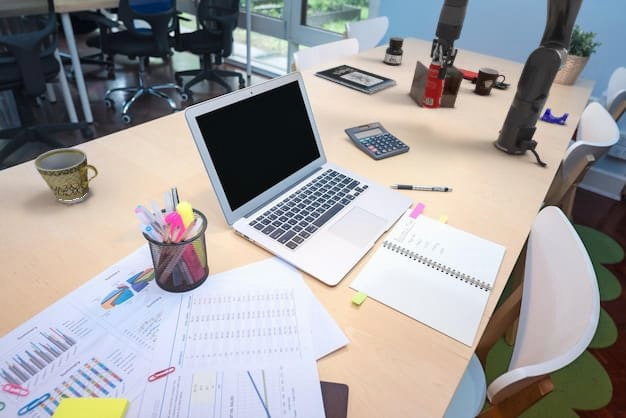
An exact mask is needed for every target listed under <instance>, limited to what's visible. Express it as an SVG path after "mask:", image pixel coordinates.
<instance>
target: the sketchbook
mask: <svg viewBox="0 0 626 418" xmlns="http://www.w3.org/2000/svg"><path fill="white" fill-rule="evenodd" d="M315 76H317V77H320V78H323V79H326V80H329V81H331V82H334V83H337V84H340V85H343V86H346V87H349V88H352V89H353V90H354V89H355V90H357V91H360V92H364V93H366V94H367V95H368V94H369V95H371V94H374V93H376V92H378V91H381V90H383V89H386V88H389V87H391V86H394V85H396V84H397V80H396V79H392V78H389V77H386V76H381V75H379V74H376V73H373V72H371V71H367V70H364V69H361V68H357V67H355V66H351V65H347V64H341V65H338V66H334V67H331V68H327V69H323V70H320V71H317V72H315Z"/></svg>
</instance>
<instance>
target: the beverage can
mask: <svg viewBox="0 0 626 418" xmlns="http://www.w3.org/2000/svg"><path fill="white" fill-rule="evenodd" d="M440 68H441V60H440V61H431V62H430V65H429V66H428V69H429V71H428V77H427V82H426V88H425V94H424V100H423V107H422V108H425V109H427V110H438V109H439V108H440V107H439V106H440V102H441V97H442V92H443V87H444V82H445V79H444V80H439V79H438V74H439V70H440ZM445 77H446V75H445Z"/></svg>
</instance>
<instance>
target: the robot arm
mask: <svg viewBox="0 0 626 418" xmlns="http://www.w3.org/2000/svg"><path fill="white" fill-rule="evenodd" d="M469 1H470V0H443V4H442V7H441V10H440V13H439V16H438V20H437V25H436V28H435V34H434V36H435V37H436V38H433V39H432V44H431V49H430V55H429V57H430V59H431V62H433V61H441V68H440V70H439V74H438V79H439V80H444V79H445V75H446V72H447V69H448V68H452V66H453V65H454V63H455V60H456V57H457V55H458V52H459V49H458V48H455V42H456V41H457V40H459V39H460V38H461V34H462V30H463V28H464V27H463V26H464V23H465V20H466V16H467V10H468V9H467V8H468V5H469ZM583 2H584V0H546V22H545V27H544V30H543V32H542V33H543V34H542V37H541V40H540V42H539V45H538V47H537V48H534V49H533V50H532V52H530V53H529V55H528V57H527V58H526V61H525V62H524V65H523V67H522V71H521V73H520V76H519V79H518V81H517V85H516V91H515V94H514V96H513V99H512V101H511V104H510V107H509V109H508V111H507V114H506V116H505V118H504V120H503V124H502V126H501V129H500V130H499V131H498V137H497V139H496V140H495V144H494V145H495V146H496V148H497V149H500V150H501V151H503V152H506V153H507V154H509V155H514V154H515V155H526V153H527V151H530V152H531V153H532V154H533V155H534V157H535V160H536V161H537V163H538V164H539V165H540V166H541V167H542V166H543V167H547V166H548V164H547V163H546V162H543V161H542V160H541V157H540V155H539V154H538V152H537V151H536V148H537V146H538V144H539V142H538V141H536V140H535V139H533V137H534V135H535V134H536V131H537V129H538V128H537V124H538V121H539V119H540V117H541V115H542V112H543V111H544V108H545V106H546V103H547V102H548V100H549V97H550V92H551V88H552V86H553V84H554V82H555V79H556V77H557V75H558V73H559V72H560V71H561V70H562V69H563V68H564V67H565V66H566V64H567V61H568V58H569V52H570V45H571V41H572V36H573V31H574V28H575V25H576V21H577V18H578V16H579V13H580V11H581V8H582V5H583Z"/></svg>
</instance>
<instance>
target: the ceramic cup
mask: <svg viewBox="0 0 626 418" xmlns="http://www.w3.org/2000/svg"><path fill="white" fill-rule="evenodd" d="M35 158H36V159H35V160H34V161H33V164H34V167H35V169H36V171H37V172H38V173H39V175H40V177H41V178H42V179H43V180H44V182H45V183H46V185H48V188H50V190H51V192H52V193H53V195H54V197H55V199H56V200H57V202H59V203H62V204H67V205H68V204H69V205H72V204H76V203H79V202H83V201H85V200H86V199H87V198H88V197H89V196H90V188H89V183H90V182H91V181H93V180H94V179H95V178H96V177H97V176H98V174H99V171H98V169H97V168H96V167H95V166H94V165H92V164H88V158H87V153H86V152H85V151H84V150H82V149H80V148H79V149H78V148H72V147H63V148H57V149H56V148H55V149H53V150H49V151H46V152H44V153H41V154H40V155H38V156H37V157H35ZM89 170H92V171H93V172H94V175H93V176H92V177H90V178H88V177H89V176H88V175H89V174H88V172H89ZM86 193H87V194H86ZM85 194H86V195H85ZM84 195H85V196H84ZM83 196H84V197H83ZM81 197H82V198H81ZM76 198H79V199H76ZM58 199H62V200H58ZM73 199H76V200H73ZM64 200H72V201H64Z"/></svg>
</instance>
